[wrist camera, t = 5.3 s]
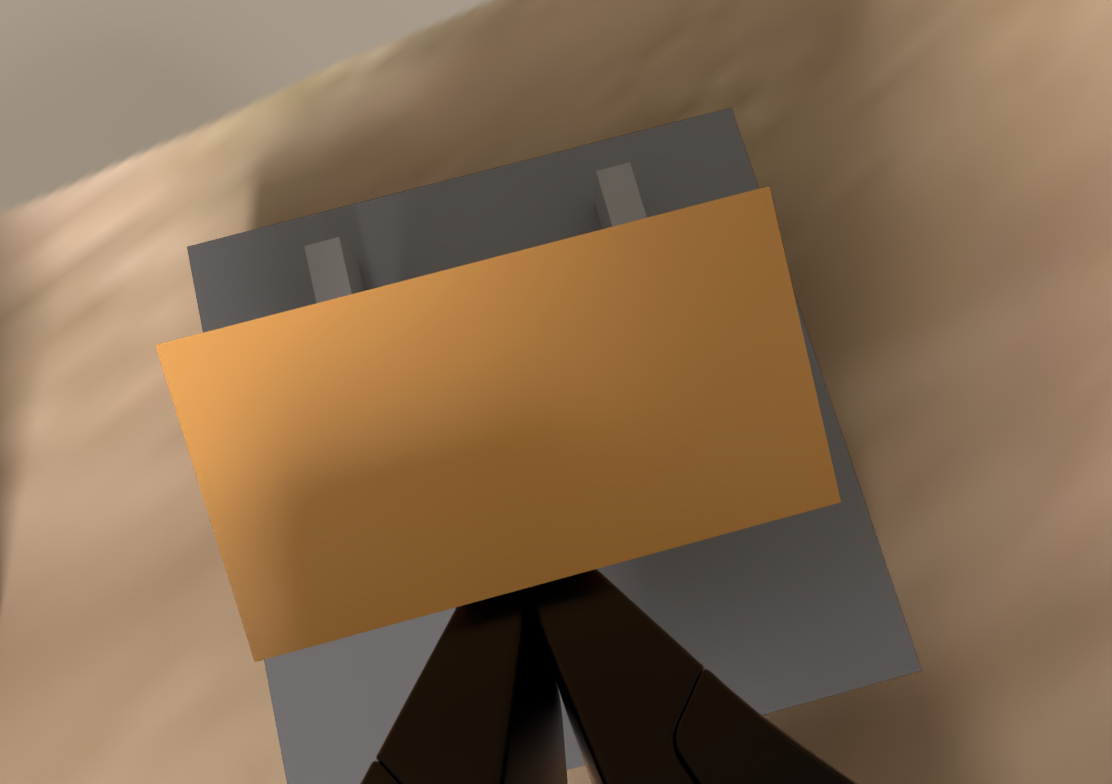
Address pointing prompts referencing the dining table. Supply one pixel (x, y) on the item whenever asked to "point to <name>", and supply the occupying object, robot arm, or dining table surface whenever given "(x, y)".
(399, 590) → the lever
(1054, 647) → the dining table surface
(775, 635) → the box
